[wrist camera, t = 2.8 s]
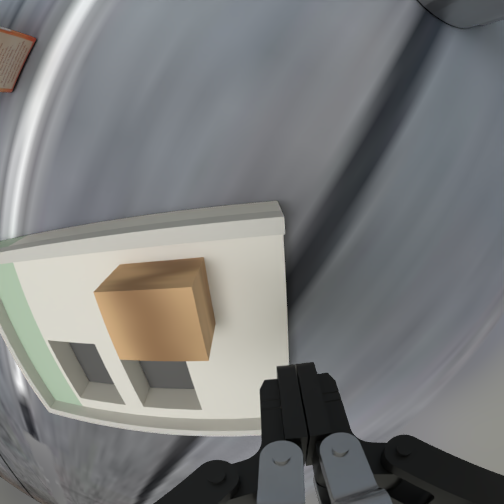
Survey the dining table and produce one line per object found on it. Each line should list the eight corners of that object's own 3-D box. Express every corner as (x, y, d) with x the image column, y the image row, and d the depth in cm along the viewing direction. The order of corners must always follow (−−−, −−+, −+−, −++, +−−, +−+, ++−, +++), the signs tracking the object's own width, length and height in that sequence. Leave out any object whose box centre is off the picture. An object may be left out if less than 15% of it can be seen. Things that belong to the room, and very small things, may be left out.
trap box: (277, 200, 20) (284, 216, 16) (287, 398, 27) (291, 432, 23) (-3, 241, 21) (-30, 257, 17) (63, 388, 28) (48, 412, 24)
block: (203, 257, 18) (191, 286, 14) (215, 322, 20) (208, 360, 16) (119, 264, 18) (93, 292, 15) (138, 325, 20) (119, 359, 16)
